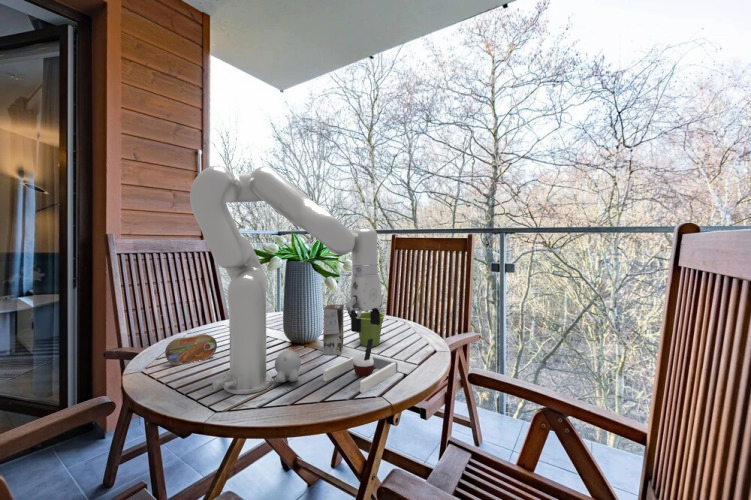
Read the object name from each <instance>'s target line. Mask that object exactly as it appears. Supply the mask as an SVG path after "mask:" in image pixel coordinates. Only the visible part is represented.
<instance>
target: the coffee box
mask: <svg viewBox="0 0 751 500" xmlns="http://www.w3.org/2000/svg"><path fill="white" fill-rule="evenodd" d="M322 331H323V335H322V337H323V338H322V339H323V341H322V344H323V345H322V346H323V348H322V349H323V350H322V355H326V356H327V355H330V356H331V355H332V356H334V355H336V356H339V355H341V354H342V351H343V350H344V349H343V348H344V304H327V305H326V306H325V307H324V309H323V330H322Z"/></svg>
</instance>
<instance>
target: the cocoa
mask: <svg viewBox="0 0 751 500" xmlns="http://www.w3.org/2000/svg"><path fill="white" fill-rule="evenodd" d="M372 344H373V339H368V343H367V346H366V348H365V353H364V352H361V353H357V354H355V355H354V356H352V357H353V362H354V363H353V367H354V368H353V371H354V373H355V375H356V376H358V377H360V378H366V377H368V376H370V375H372V374H373V372H374V369H375V367H374V360H373V358H372V356H373V355H371V354H372V348H373V346H372Z"/></svg>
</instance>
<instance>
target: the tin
mask: <svg viewBox="0 0 751 500" xmlns="http://www.w3.org/2000/svg"><path fill="white" fill-rule="evenodd" d="M217 348H218V343H217V340H216V339H215V338H214V336H212V335H210V334H205V333H203V334H202V333H201V334H197V335H196V334H195V335H190V336H185V337H179V338H175V339H173V340H172V341H170V342H169V343H168V345H167V346H166V347H165V351H164V355H165V358H166V360H167V361H168V363H169V364H172V365H174V366H178V365H177V364H181V363H187V362H193V363H195V362H194V361H198V362H200V361H199V360H203V361H206V360H209V359H210V358H211V357H213V356H214V354H215V353H216V351H217ZM205 359H206V360H205Z"/></svg>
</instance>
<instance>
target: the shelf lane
mask: <svg viewBox="0 0 751 500" xmlns="http://www.w3.org/2000/svg"><path fill="white" fill-rule="evenodd" d="M371 356H372V358H373V360H374V369H379V370H377V371H376V372H374V373H373V372H372V374H371V375H370V376H368V377H364V378H363V379H361V380H360V381H359V392H360V393H362V394H365V392H367V391H369V390H371V389H372V388H374V387H376V386H377V385H378V384H381V383H382V382H383V381H385V380H387V379H388V378H390V377H391V376H393V375H394V374H397V373H398V365H399V364H398V362H397V361H394V360H389V359H386V358H381V357H377V356H373V355H371ZM353 357H354V356H352V357H350V358H347V359H345V360H343V361H341V362H339V363H336V364H334V365H332V366H330V367H328V368H325V369H323V374H322V375H323V376H322V377H323V378H322V380H323V381H324V382H328V381H330V380H332V379H334V378H336V377H338V376H340V375H342V374H344V373H346V372H348V371H350V370H352V369H354V367H353V363H354V362H353Z"/></svg>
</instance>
